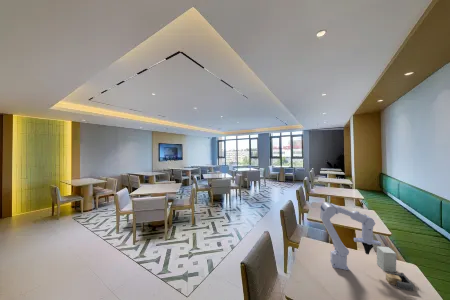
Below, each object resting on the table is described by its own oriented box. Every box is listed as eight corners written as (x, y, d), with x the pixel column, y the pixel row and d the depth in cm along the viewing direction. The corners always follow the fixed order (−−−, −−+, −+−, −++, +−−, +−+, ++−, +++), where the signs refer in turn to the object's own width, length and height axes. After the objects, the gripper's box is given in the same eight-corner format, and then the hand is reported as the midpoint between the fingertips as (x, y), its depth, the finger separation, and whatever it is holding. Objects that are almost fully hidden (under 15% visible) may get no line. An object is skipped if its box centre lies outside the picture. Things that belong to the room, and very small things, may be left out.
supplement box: (396, 272, 114) (397, 253, 114) (383, 271, 116) (383, 252, 115) (388, 264, 121) (388, 246, 121) (376, 263, 123) (376, 245, 122)
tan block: (388, 283, 106) (388, 277, 106) (385, 279, 109) (385, 273, 109) (401, 286, 104) (401, 279, 104) (398, 282, 107) (398, 275, 107)
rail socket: (397, 287, 103) (397, 282, 102) (388, 275, 112) (388, 270, 112) (413, 291, 100) (413, 285, 100) (402, 278, 109) (403, 272, 109)
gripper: (356, 235, 117) (356, 255, 117) (383, 238, 112) (383, 259, 112) (352, 230, 123) (352, 248, 124) (378, 233, 118) (378, 252, 119)
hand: (366, 253), depth 119 cm, fingers closed
